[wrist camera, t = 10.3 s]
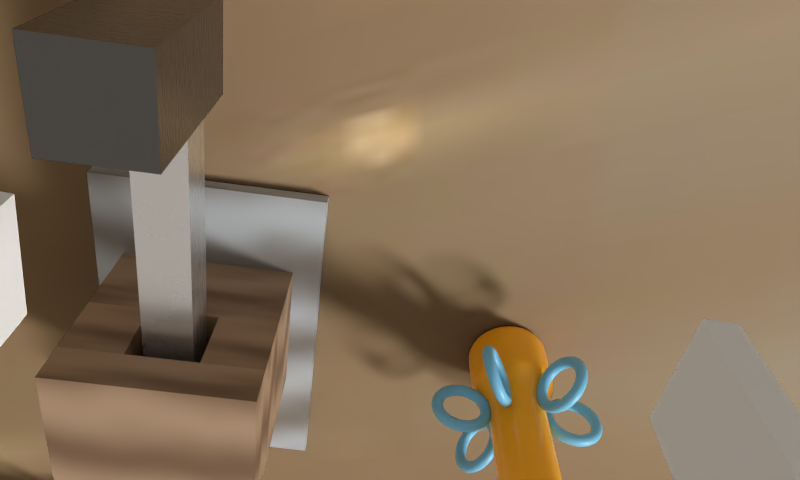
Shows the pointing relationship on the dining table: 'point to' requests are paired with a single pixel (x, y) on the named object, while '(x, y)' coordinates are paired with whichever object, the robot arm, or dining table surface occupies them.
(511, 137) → the dining table surface
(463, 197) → the dining table surface
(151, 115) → the grey mallet
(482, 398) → the cylinder
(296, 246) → the block
